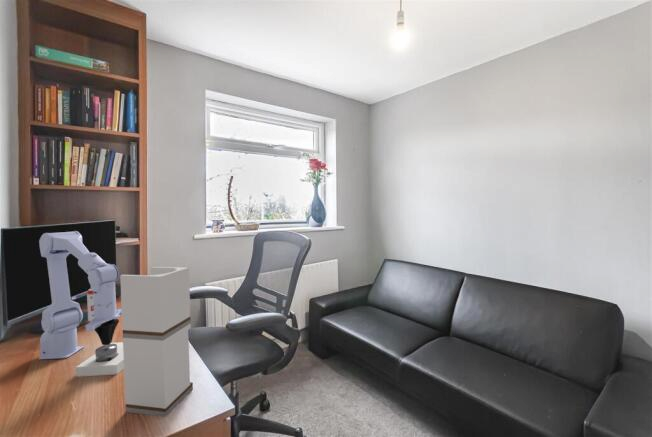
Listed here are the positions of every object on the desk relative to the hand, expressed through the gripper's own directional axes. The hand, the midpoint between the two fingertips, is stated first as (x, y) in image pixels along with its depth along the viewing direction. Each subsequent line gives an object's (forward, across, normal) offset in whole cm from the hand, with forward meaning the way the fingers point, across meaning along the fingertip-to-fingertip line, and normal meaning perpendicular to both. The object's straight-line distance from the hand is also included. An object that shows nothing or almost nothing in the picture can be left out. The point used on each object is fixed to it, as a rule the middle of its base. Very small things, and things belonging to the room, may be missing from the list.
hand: (106, 343), depth 93 cm
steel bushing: (+7, 0, 0) cm, 7 cm away
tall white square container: (+8, -19, -26) cm, 33 cm away
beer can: (+8, +39, +30) cm, 50 cm away
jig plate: (+8, +3, 0) cm, 8 cm away
